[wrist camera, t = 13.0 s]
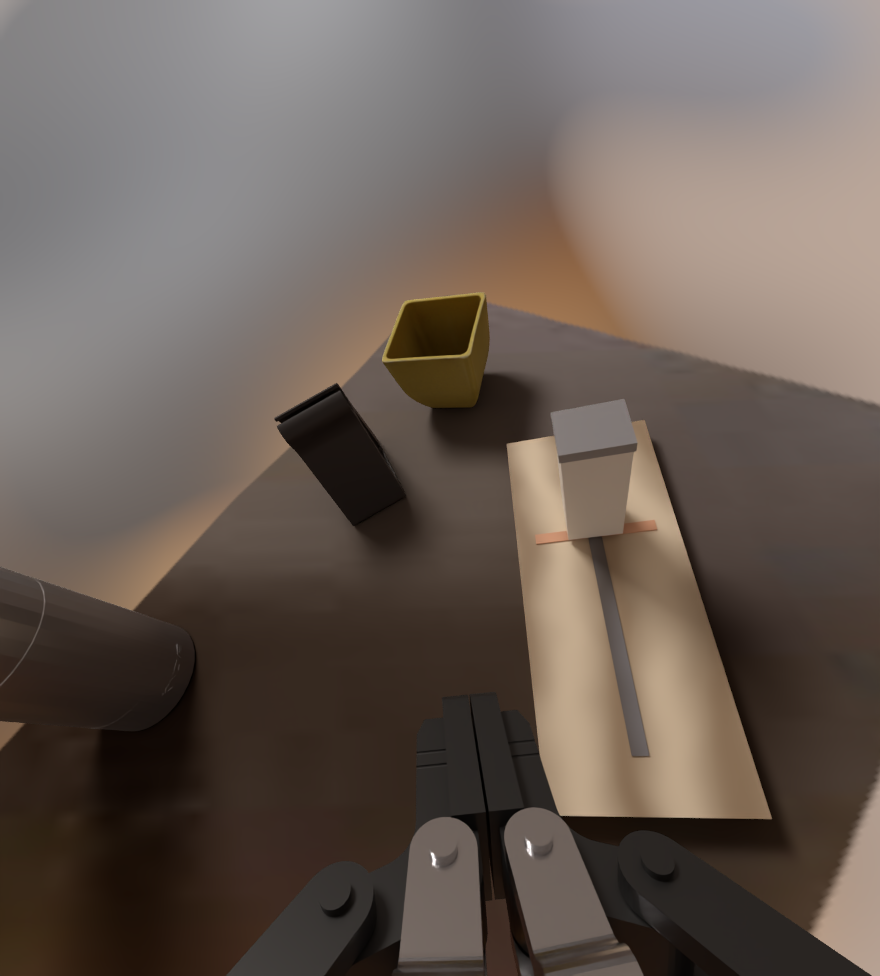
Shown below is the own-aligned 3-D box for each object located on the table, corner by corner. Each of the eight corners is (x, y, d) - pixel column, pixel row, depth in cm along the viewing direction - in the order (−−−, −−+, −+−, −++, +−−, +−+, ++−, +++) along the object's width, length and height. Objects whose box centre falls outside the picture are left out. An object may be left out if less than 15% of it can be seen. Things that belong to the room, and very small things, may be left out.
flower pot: (428, 363, 53) (403, 298, 46) (501, 359, 50) (486, 289, 43) (411, 422, 49) (379, 362, 42) (488, 421, 46) (469, 357, 39)
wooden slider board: (548, 812, 29) (546, 815, 27) (509, 456, 44) (506, 443, 42) (760, 815, 26) (772, 819, 24) (642, 433, 41) (644, 419, 39)
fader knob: (567, 541, 35) (558, 455, 25) (561, 505, 37) (550, 412, 27) (624, 534, 34) (637, 442, 24) (615, 497, 36) (624, 398, 26)
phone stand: (329, 465, 50) (265, 390, 40) (377, 438, 50) (324, 357, 40) (353, 527, 44) (286, 459, 35) (407, 497, 44) (354, 421, 35)
